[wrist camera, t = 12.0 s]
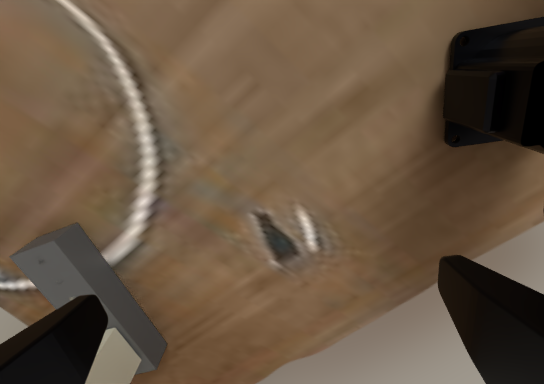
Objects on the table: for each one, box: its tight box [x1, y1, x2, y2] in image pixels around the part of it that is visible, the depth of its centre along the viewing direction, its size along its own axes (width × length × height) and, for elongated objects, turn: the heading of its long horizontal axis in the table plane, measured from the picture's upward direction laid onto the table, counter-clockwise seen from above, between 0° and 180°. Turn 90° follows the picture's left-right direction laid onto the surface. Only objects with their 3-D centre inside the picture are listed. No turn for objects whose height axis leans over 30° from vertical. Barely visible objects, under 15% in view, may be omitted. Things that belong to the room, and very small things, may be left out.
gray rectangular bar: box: [10, 223, 167, 375], centre depth 24 cm, size 4×14×2 cm, turn 21°
